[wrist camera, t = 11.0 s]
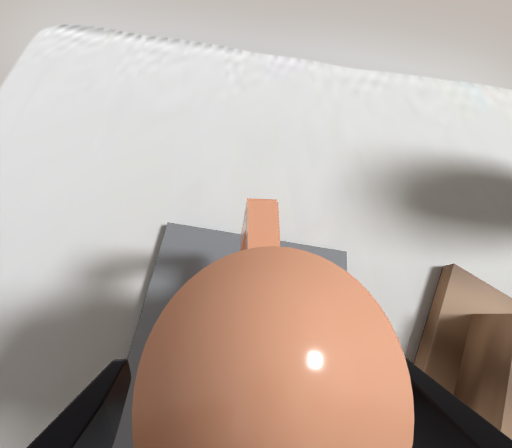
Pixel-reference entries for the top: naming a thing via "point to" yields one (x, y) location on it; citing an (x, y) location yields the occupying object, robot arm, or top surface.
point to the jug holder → (471, 345)
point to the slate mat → (174, 277)
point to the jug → (272, 356)
